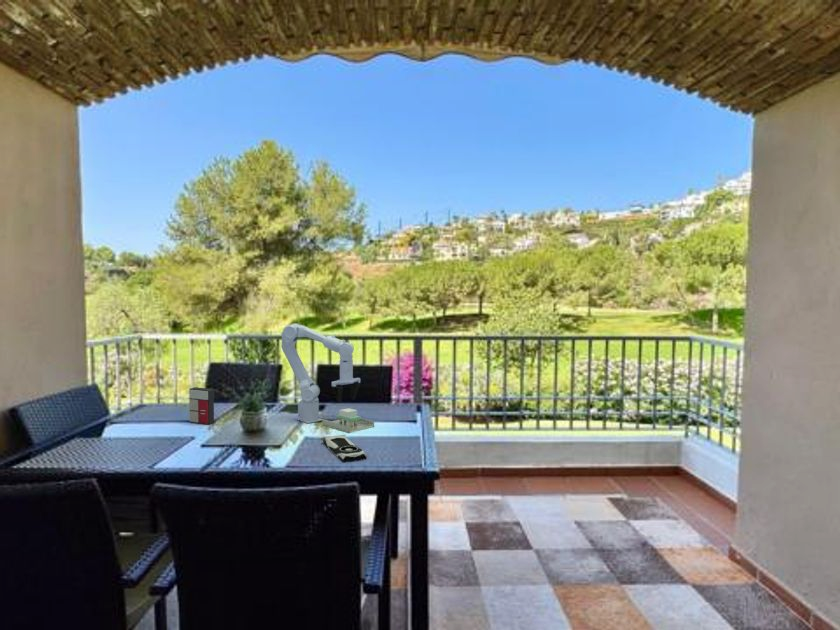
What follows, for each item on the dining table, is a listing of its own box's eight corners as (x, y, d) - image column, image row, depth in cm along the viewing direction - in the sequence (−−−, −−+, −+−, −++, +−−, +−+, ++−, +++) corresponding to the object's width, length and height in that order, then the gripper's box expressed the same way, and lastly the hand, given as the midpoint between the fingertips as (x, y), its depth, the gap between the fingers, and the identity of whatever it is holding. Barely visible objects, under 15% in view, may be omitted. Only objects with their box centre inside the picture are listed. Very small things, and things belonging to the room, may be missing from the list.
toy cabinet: (188, 422, 250) (187, 388, 249) (195, 420, 254) (195, 387, 253) (208, 425, 246) (207, 390, 245) (215, 422, 250) (214, 389, 249)
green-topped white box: (336, 417, 248) (336, 409, 248) (345, 415, 252) (345, 407, 251) (351, 421, 241) (351, 413, 241) (360, 419, 245) (360, 411, 244)
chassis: (322, 425, 248) (322, 417, 248) (347, 419, 258) (347, 412, 258) (348, 433, 235) (348, 425, 235) (374, 426, 245) (374, 419, 245)
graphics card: (344, 433, 224) (367, 451, 201) (344, 442, 224) (367, 460, 202) (319, 436, 219) (340, 455, 197) (319, 445, 220) (340, 464, 197)
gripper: (338, 373, 245) (338, 404, 246) (364, 369, 255) (364, 399, 256) (328, 371, 250) (328, 401, 251) (354, 367, 260) (354, 397, 261)
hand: (346, 400), depth 254 cm, fingers open, 7 cm apart
